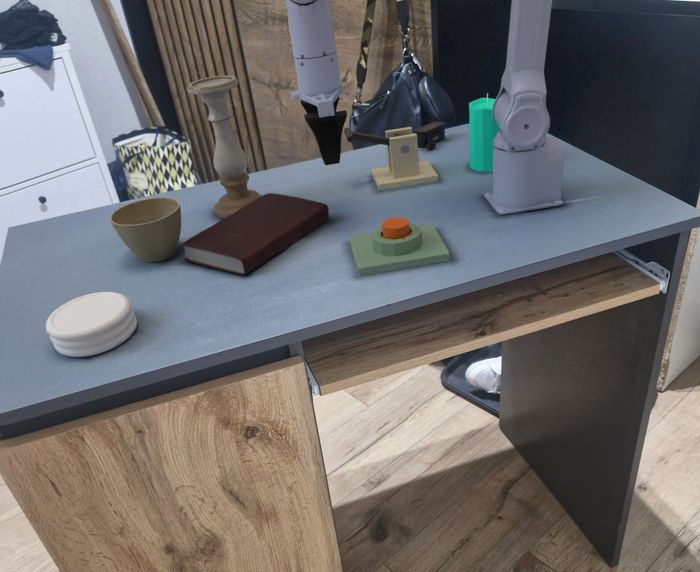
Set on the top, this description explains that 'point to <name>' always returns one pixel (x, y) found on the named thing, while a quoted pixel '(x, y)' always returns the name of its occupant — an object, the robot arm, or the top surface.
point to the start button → (395, 228)
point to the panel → (398, 250)
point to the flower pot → (149, 227)
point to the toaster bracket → (403, 162)
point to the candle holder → (225, 145)
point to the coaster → (91, 324)
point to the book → (255, 233)
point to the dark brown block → (430, 135)
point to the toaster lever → (367, 137)
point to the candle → (482, 134)
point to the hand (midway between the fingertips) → (329, 155)
